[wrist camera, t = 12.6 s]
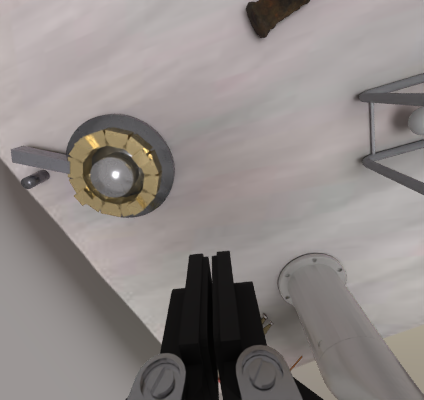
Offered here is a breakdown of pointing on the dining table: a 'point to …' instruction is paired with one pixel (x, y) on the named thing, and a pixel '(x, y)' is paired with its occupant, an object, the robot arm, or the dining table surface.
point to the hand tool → (270, 13)
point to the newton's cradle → (418, 123)
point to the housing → (119, 161)
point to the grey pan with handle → (82, 164)
